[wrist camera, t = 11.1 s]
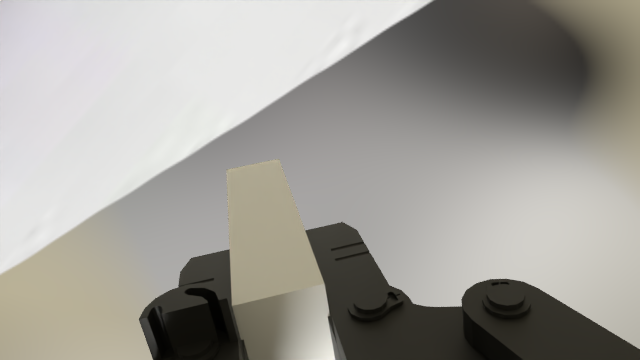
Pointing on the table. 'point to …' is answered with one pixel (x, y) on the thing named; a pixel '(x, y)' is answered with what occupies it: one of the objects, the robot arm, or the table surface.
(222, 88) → the table surface
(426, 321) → the robot arm
